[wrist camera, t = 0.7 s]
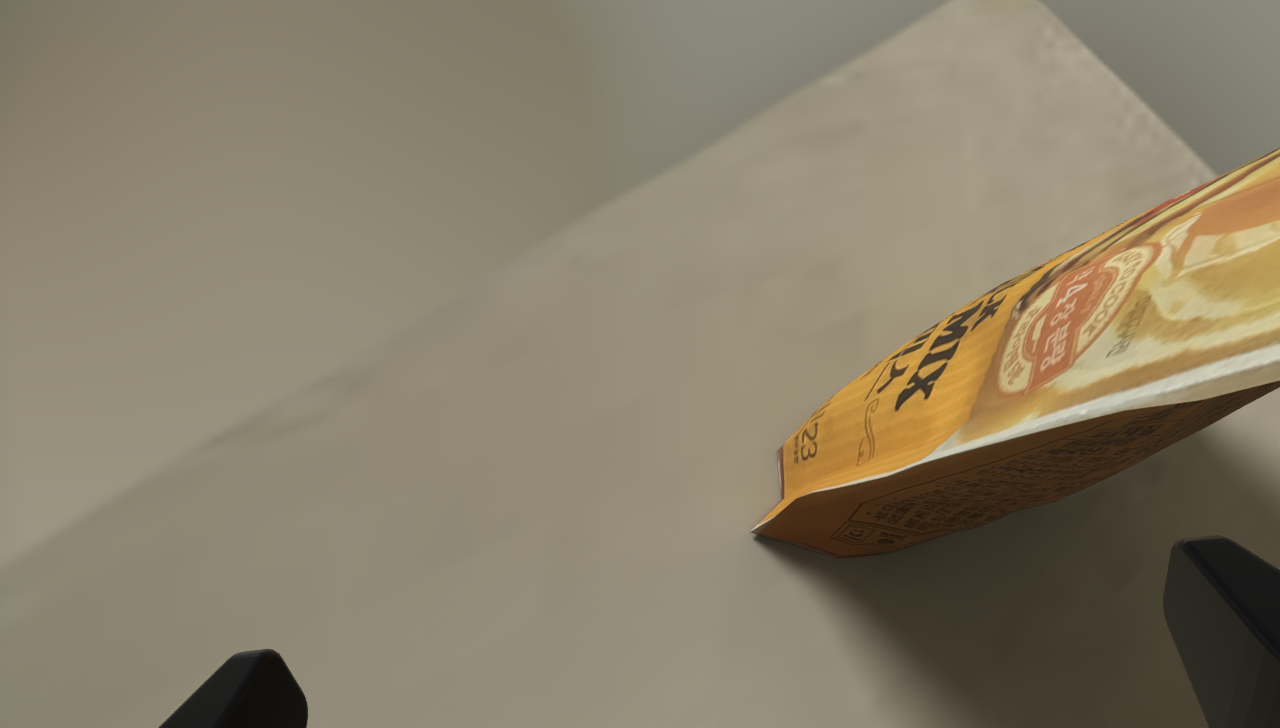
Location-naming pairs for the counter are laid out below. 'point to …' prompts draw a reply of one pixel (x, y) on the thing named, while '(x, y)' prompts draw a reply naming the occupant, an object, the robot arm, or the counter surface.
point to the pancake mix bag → (1049, 378)
